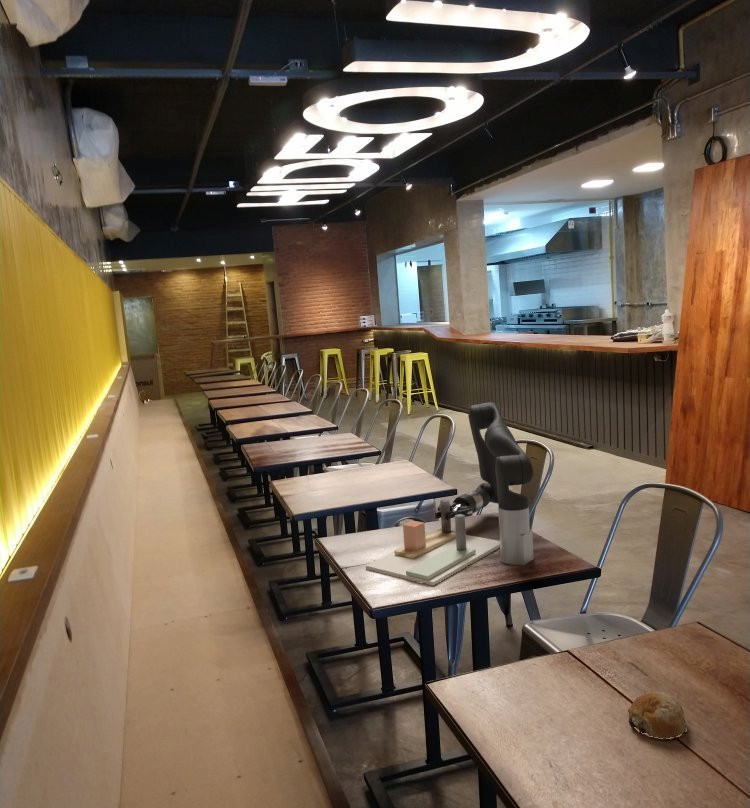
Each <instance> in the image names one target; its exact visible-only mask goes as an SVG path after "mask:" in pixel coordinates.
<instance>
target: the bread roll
mask: <svg viewBox="0 0 750 808" xmlns="http://www.w3.org/2000/svg"><path fill="white" fill-rule="evenodd" d="M627 712H628V724H629V726H630V727H631V728H633V727H636V728H637V729H639V731H640V732H642V733H647V734H648V735H649V736H653V737H658V738H663V739H666V738H670V737H674V736H675V737H676V736H678V735H680V734H683V733H684V732H685V731H686V727H687V726H686V725H687V724H686V720H685V719H686V717H685V713H684V708H683V707H682V705H681V703H680V702H679V701H678V700H677V699H676V698H675V697H673V696H672V695H670V694H667V693H666V692H665V691H651V692H646V693H644V694H642V695H640V696H638V697H637V698H635V700H633V702H632V703H631V706H630V707H628V709H627ZM685 726H686V727H685ZM684 734H685V733H684ZM684 734H683V735H684Z"/></svg>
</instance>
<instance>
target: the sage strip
mask: <svg viewBox="0 0 750 808" xmlns="http://www.w3.org/2000/svg"><path fill="white" fill-rule="evenodd" d="M454 526H455V530H454V531H456V545H454V546H452V547H450V548H448V549H446V550H445V551H443V552H441V553H439V554H437V555H435V556H433V557H431V558H429V559H428V560H426V561H424V562H422V563H420V564H418V565H416V566H414V567H412V568H411V569H409V570H407V571H406V575H409V576H413V577H417V578H421V579H425V580H429V579H431V578H433V577H434V576H436V575H438V574H440V573H441V572H443V571H445V570H447V569H448V568H450V567H452V566H454V565H455V564H457V563H459V562H461V561H462V560H464V559H466V558H468V557H470V556H471V555H473V554H475V553H476V549H471V548H467V547H466V535H467V531H466V517H465V515H462V514H458V515H455V518H454Z"/></svg>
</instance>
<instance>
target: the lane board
mask: <svg viewBox="0 0 750 808" xmlns="http://www.w3.org/2000/svg"><path fill="white" fill-rule="evenodd" d="M454 545H456V537H455V538H454V539H452V540H450V541H448V542H446V543H444V544H442V545H440V546H438V547H436V548H434V549H432V550H430V551H428V552H426V553H424V554H423V555H421V556H419V557H417V558H415V559H413V558H408V557H404V556H399V555H395V554H394V551H392V552H391V553H388V554H387V555H385V556H383V557H381V558H378V559H376V560H374V561H372V562H370V563H368V564H366V565H365V570H367V571H371V572H376V573H379V574H383V575H388V576H392V577H395V576H396V577H395V578H399V577H400V578H399V579H403V578H404V580H407V579H408V581H411V580H413V581H412V582H415V581H417V582H416V583H419V582H422V583H421V584H423V583H426V584H425V585H427V584H430V585H429V586H431V585H435V584H437V583H438V584H440V583H441V582H440V581H442V580H443V581H444V579H445V580H447V579H448V578H450V577H452V576H453V575H452V574H454V573H455V574H457V573H459V572H460V571H462V570H464V569H466V568H467V567H469V566H471V565H472V564H474V563H476V562H478V561H479V560H481V559H483V558H484V557H486V556H487V555H489V554H491V553H493V552H494V551H496V550H498V549H500V540H496V539H489V538H486V537H485V538H484V537H480V536H474V535H469V534H466V547H467V548H471V549H476V553H475V554H473V555H471V556H470V557H468V558H466V559H464V560H462V561H461V562H459V563H457V564H455V565H454V566H452V567H450V568H448V569H447V570H445V571H443V572H441V573H440V574H438V575H436V576H434V577H433V578H431V579H429V580H425V579H421V578H417V577H413V576H409V575H406V571H407V570H409V569H411V568H412V567H414V566H416V565H418V564H420V563H422V562H424V561H426V560H428V559H429V558H431V557H433V556H435V555H437V554H439V553H441V552H443V551H445V550H446V549H448V548H450V547H452V546H454ZM470 564H471V565H470ZM468 565H469V566H468ZM465 567H466V568H465ZM463 568H464V569H463ZM461 569H462V570H461ZM458 571H459V572H458ZM456 572H457V573H456ZM455 574H454V575H455ZM451 575H452V576H451ZM449 576H450V577H449ZM447 577H448V578H447ZM446 578H447V579H446ZM443 581H442V582H443ZM439 582H440V583H439ZM438 584H437V585H438ZM435 586H436V585H435Z"/></svg>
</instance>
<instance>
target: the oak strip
mask: <svg viewBox="0 0 750 808" xmlns="http://www.w3.org/2000/svg"><path fill="white" fill-rule="evenodd" d="M439 502H440V503H439V505H440V507H441V518H440V521H441V523H440V525H441V528H438V529H436V530H435V531H432V532H430V533H428V534H425V539H426V547H424V548H422V549H420V550H418V551H414V550H410V549H405V548H404V545H403V546H401V547H399V548H397V549H395V550H394V551H393V552H394V554H395V555H399V556H404V557H408V558H413V559H415V558H417V557H419V556H421V555H423V554H424V553H426V552H428V551H430V550H432V549H434V548H436V547H438V546H440V545H442V544H444V543H446V542H448V541H450V540H452V539H454V538H455V537H456V530H452V522H451V519H452V518H451V519H449V520H445V517H444V515H445V514H446V513H448V512H450V504H451V502H450V500H449V499H441V500H440V501H439Z"/></svg>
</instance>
